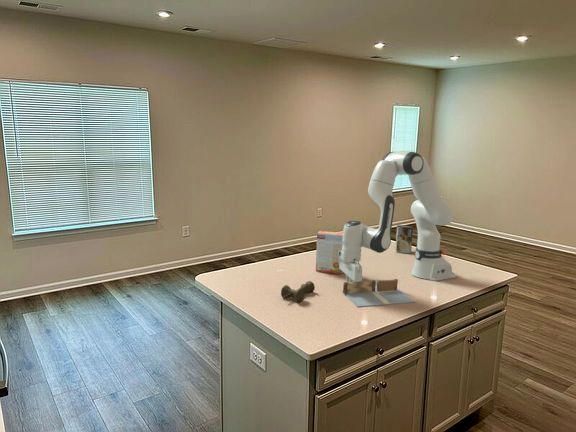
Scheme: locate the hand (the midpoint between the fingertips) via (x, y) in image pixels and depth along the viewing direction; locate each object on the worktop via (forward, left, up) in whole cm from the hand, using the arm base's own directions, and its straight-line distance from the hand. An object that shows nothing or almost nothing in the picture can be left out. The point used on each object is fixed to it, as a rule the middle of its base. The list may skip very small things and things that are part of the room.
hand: (349, 284), depth 203 cm
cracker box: (0, -27, -3) cm, 27 cm away
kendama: (+26, +4, -3) cm, 26 cm away
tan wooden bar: (-3, +5, -2) cm, 6 cm away
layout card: (-10, +10, -3) cm, 14 cm away
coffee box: (-58, -55, -3) cm, 80 cm away
